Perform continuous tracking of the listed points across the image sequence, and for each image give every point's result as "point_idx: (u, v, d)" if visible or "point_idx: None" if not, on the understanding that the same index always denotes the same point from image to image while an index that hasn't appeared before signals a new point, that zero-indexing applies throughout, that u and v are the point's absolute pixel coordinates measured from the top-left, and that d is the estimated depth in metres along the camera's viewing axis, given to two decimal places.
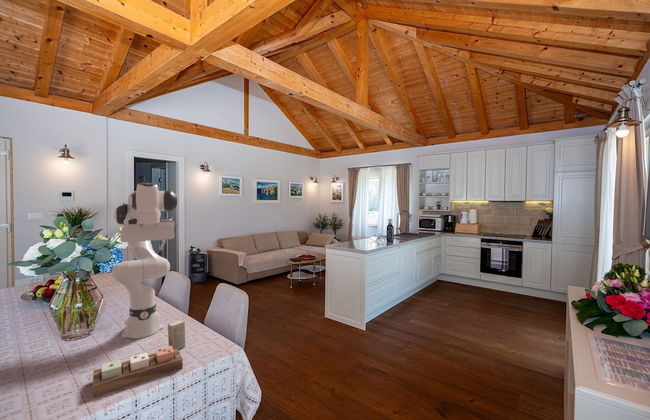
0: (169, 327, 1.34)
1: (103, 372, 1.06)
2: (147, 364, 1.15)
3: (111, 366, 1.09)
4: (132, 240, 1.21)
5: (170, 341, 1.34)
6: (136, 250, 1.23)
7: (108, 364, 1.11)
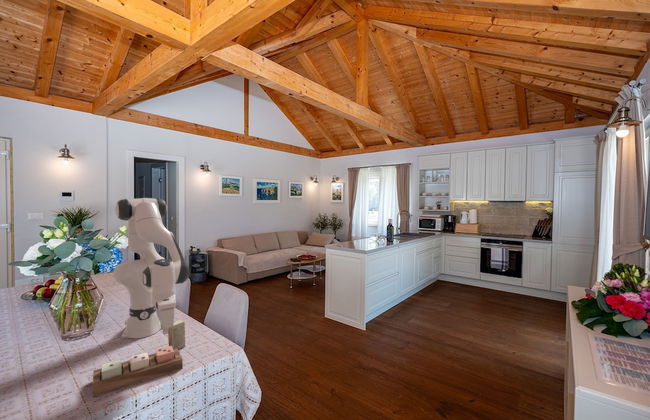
0: None
1: (103, 372, 1.06)
2: (147, 364, 1.15)
3: (111, 366, 1.09)
4: None
5: (170, 341, 1.34)
6: (167, 331, 1.19)
7: (108, 364, 1.11)
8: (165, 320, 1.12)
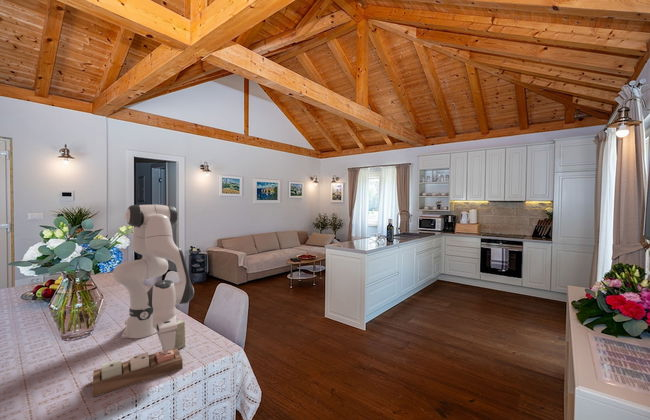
0: None
1: (103, 372, 1.06)
2: (147, 364, 1.15)
3: (111, 366, 1.09)
4: None
5: None
6: (167, 350, 1.21)
7: (108, 364, 1.11)
8: (166, 343, 1.12)
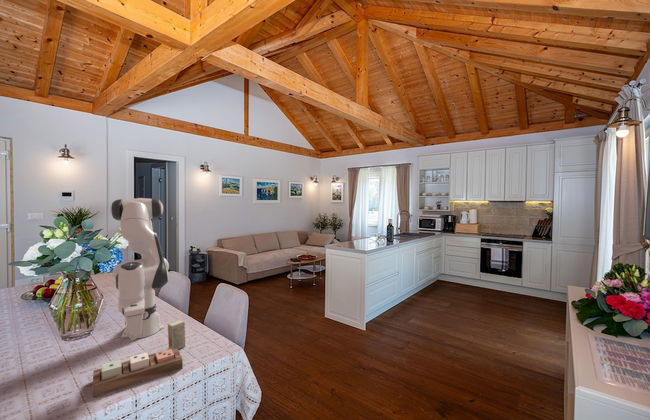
0: (169, 327, 1.34)
1: (103, 372, 1.06)
2: (147, 364, 1.15)
3: (111, 366, 1.09)
4: None
5: (170, 341, 1.34)
6: (135, 336, 1.14)
7: (108, 364, 1.11)
8: (131, 327, 1.05)
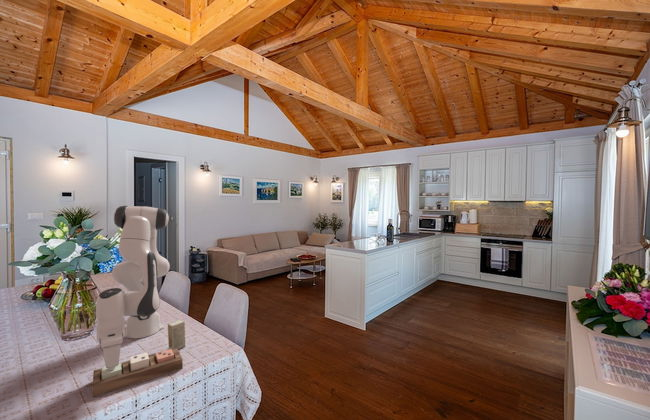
0: (169, 327, 1.34)
1: (103, 375, 1.06)
2: (147, 364, 1.15)
3: None
4: None
5: (170, 341, 1.34)
6: None
7: None
8: (108, 359, 1.01)
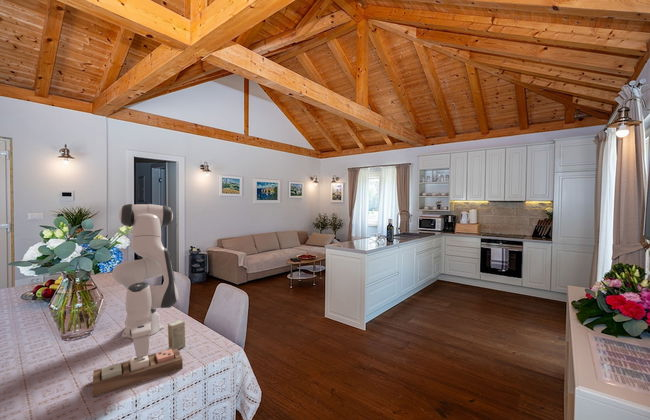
0: (169, 327, 1.34)
1: (103, 376, 1.06)
2: (147, 365, 1.15)
3: (111, 370, 1.09)
4: None
5: (170, 341, 1.34)
6: (142, 356, 1.16)
7: (108, 368, 1.11)
8: (138, 349, 1.07)
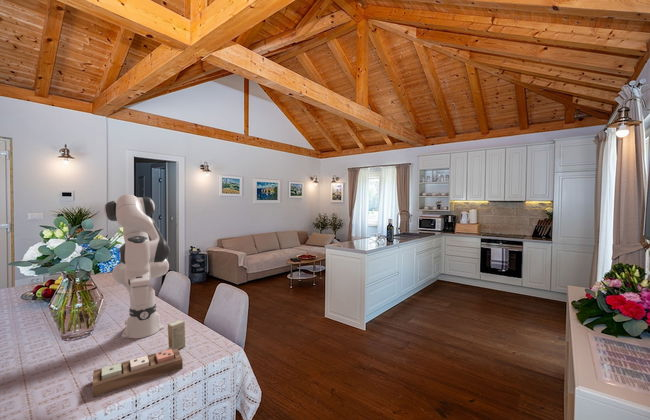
0: (169, 327, 1.34)
1: (103, 376, 1.06)
2: None
3: (111, 370, 1.09)
4: None
5: (170, 341, 1.34)
6: (140, 307, 1.18)
7: (108, 368, 1.11)
8: (137, 297, 1.09)
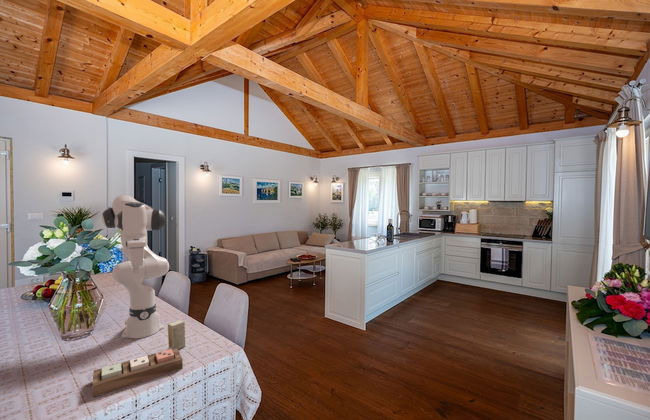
0: (169, 327, 1.34)
1: (103, 376, 1.06)
2: None
3: (111, 370, 1.09)
4: None
5: (170, 341, 1.34)
6: None
7: (108, 368, 1.11)
8: (134, 258, 1.14)
